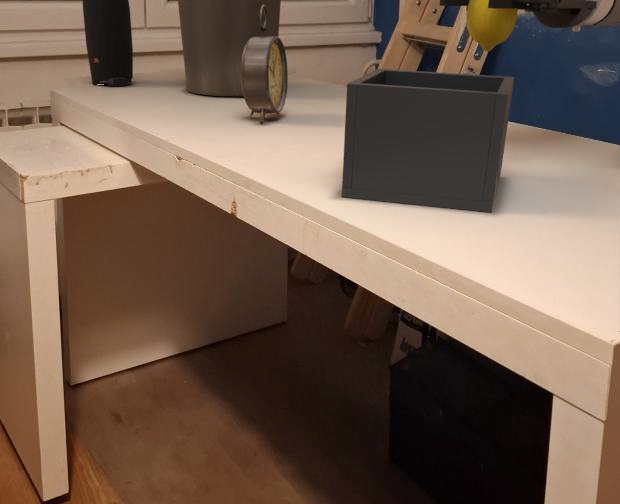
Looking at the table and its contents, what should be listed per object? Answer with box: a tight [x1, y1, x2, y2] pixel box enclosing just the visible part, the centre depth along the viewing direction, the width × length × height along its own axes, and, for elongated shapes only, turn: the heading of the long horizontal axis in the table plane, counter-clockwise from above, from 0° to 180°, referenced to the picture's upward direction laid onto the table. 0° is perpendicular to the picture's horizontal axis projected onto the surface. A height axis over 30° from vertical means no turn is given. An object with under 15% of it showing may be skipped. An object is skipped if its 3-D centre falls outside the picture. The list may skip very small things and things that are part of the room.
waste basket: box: [177, 0, 282, 97], centre depth 138 cm, size 27×20×30 cm
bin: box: [341, 68, 515, 213], centre depth 79 cm, size 15×15×11 cm
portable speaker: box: [82, 0, 134, 87], centre depth 144 cm, size 9×9×20 cm
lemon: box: [465, 0, 518, 52], centre depth 84 cm, size 6×6×8 cm
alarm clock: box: [240, 5, 289, 125], centre depth 114 cm, size 11×5×16 cm, turn 166°
